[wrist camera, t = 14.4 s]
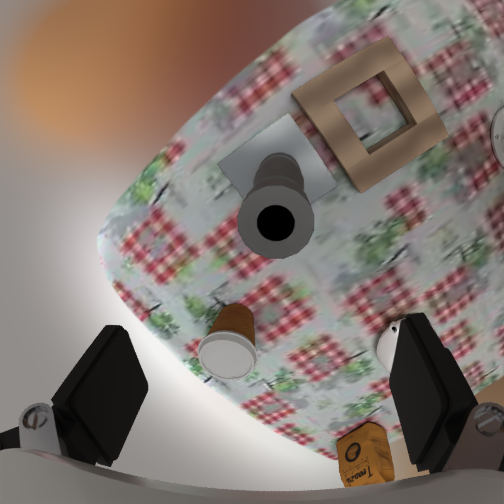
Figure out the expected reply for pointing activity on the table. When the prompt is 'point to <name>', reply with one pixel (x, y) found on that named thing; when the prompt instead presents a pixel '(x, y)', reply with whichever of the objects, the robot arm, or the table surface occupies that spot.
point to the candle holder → (276, 209)
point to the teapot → (388, 345)
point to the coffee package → (365, 457)
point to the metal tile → (276, 141)
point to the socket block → (341, 133)
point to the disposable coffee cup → (230, 345)
